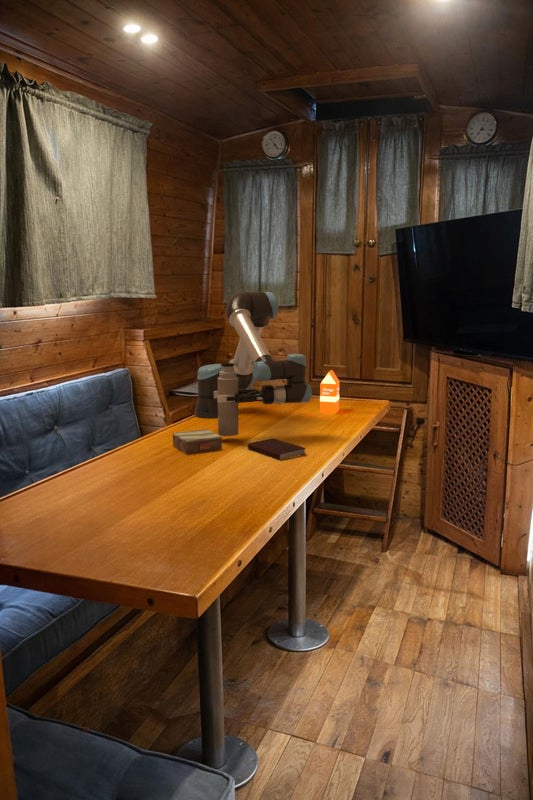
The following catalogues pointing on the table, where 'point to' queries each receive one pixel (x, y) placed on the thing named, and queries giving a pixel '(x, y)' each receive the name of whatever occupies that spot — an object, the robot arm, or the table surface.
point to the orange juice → (329, 394)
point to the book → (276, 448)
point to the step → (197, 441)
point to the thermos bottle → (227, 409)
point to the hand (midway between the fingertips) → (215, 396)
